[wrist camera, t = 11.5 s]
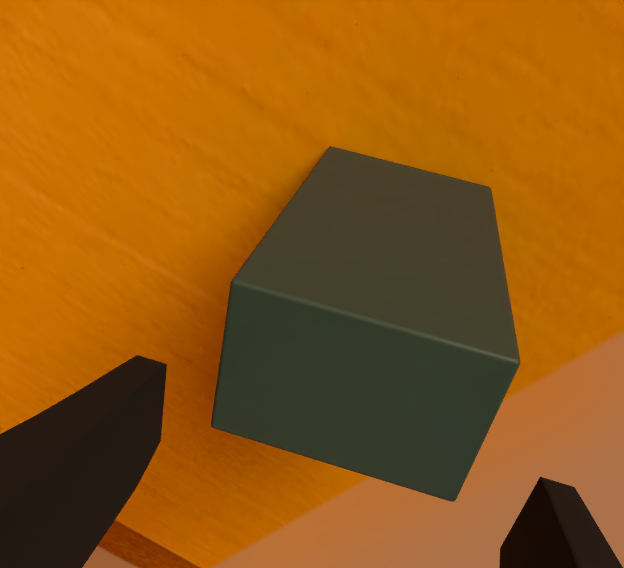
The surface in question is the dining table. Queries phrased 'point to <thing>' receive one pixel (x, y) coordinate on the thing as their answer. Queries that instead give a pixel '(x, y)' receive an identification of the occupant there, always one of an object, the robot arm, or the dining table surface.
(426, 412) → the carton
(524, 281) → the dining table surface
